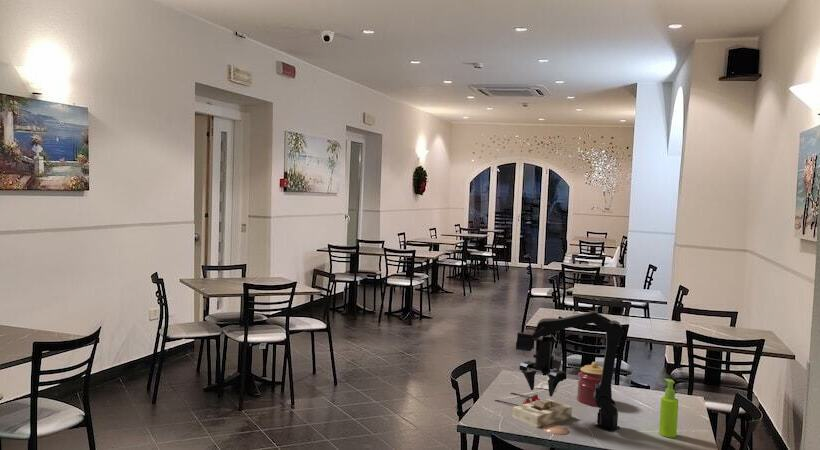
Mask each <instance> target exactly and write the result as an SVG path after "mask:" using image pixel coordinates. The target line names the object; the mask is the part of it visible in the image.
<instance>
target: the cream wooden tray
mask: <svg viewBox="0 0 820 450" xmlns="http://www.w3.org/2000/svg"><path fill="white" fill-rule="evenodd" d="M539 401H542V402H545V403H546V404H547V405H548V406H549V409H546V410H542V411H539V410H537V409H536V408H535V406H534V405H533V404H534V403H535V402H532V401H530V402H531V403H527V404H524V403H522V404H518V405H519V406H516V405H514V406H513V407H512V418H514V419H516V420H518V421H521V422H523V423H525V424H528V425H530V426H531V427H535V428H539V427H543V426H545V425H550V424H555V423H558V422H561V421H564V420H569V419H572V409H573V408H572V406H571V405H568V404H565V403H563V402H558V401H556V400H553V399H550V398H544V399H540V400H539Z"/></svg>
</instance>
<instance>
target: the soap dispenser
mask: <svg viewBox="0 0 820 450" xmlns="http://www.w3.org/2000/svg"><path fill="white" fill-rule="evenodd" d="M663 380H664V381H666V382H667V387H666V388H665V389H664V396H661V398H660V408H659V409H660V413H659V428H658V429H659V430H658V431H659V432H658V434H659V435H660V436H662V437H666V438H677V430H678V418H679V417H678V414H679V413H678V412H679V399H678V398H676V390H675V389H674V384H675V385H676V382H675V381H674V379H672V378H663Z"/></svg>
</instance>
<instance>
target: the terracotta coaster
mask: <svg viewBox="0 0 820 450" xmlns="http://www.w3.org/2000/svg"><path fill="white" fill-rule="evenodd" d="M542 429H543V430H544V432H546V433H548V434H552V435H559V436H563V435H568V433H569V429H568V428H567V427H566V426H563V425H559V424H554V423H551V424H547V425H544V426H542Z"/></svg>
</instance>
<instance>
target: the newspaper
mask: <svg viewBox="0 0 820 450" xmlns="http://www.w3.org/2000/svg"><path fill="white" fill-rule="evenodd" d="M548 379H550V378H549V377H546V378H545V379H543V380H542V381H541V382H540V383H538V384H537V385H534V389H542V390H548V391H549V387H548ZM562 383H563V381H560V382H559V383H558V385H557V386H556V389H555V391H554V392H556V391H557V390H558V388H560V385H561V384H562Z"/></svg>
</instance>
